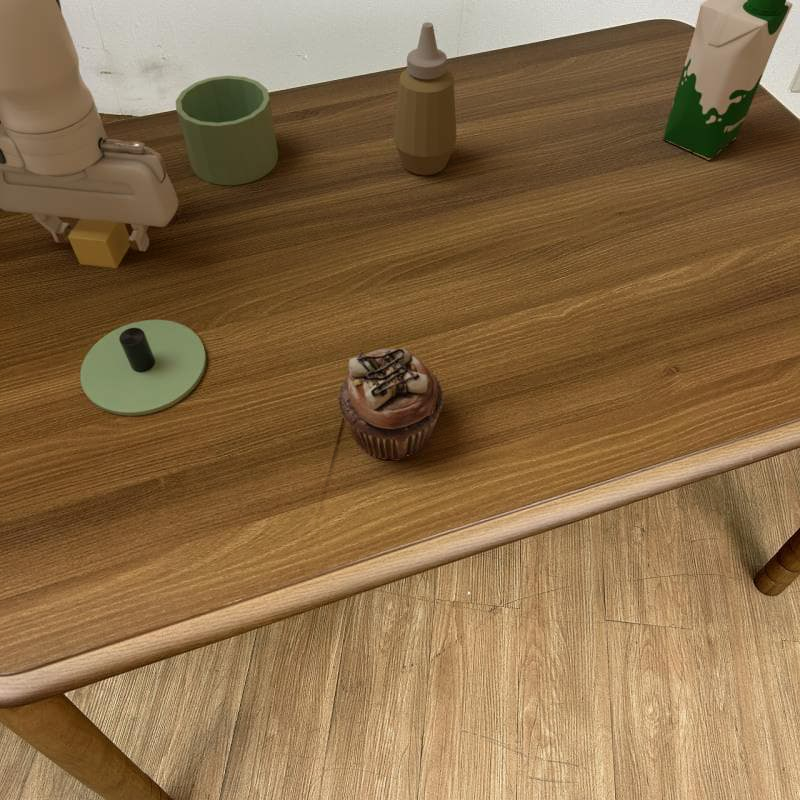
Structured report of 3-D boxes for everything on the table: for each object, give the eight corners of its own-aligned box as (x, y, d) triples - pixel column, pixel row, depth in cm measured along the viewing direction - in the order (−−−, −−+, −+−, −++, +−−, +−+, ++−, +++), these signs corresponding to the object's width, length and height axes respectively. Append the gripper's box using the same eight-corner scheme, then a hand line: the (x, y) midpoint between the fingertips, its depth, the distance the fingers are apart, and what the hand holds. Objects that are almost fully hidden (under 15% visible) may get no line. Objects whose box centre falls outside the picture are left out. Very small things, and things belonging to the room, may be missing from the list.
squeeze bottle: (384, 173, 97) (380, 34, 82) (407, 140, 101) (407, 3, 87) (442, 187, 95) (449, 47, 80) (463, 153, 99) (473, 15, 85)
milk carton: (711, 167, 97) (771, 9, 81) (651, 140, 101) (697, -16, 85) (744, 139, 101) (808, -16, 85) (686, 114, 105) (736, -39, 89)
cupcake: (461, 438, 71) (468, 370, 63) (375, 486, 67) (371, 420, 59) (406, 374, 76) (406, 303, 68) (323, 415, 72) (313, 346, 64)
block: (81, 267, 86) (67, 236, 82) (97, 242, 88) (84, 211, 85) (118, 271, 85) (105, 240, 82) (133, 246, 88) (121, 215, 84)
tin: (179, 181, 96) (162, 121, 89) (207, 131, 103) (193, 72, 96) (264, 189, 95) (254, 129, 88) (287, 138, 102) (279, 79, 95)
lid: (63, 411, 73) (42, 377, 69) (113, 321, 80) (97, 285, 76) (183, 427, 72) (170, 393, 68) (223, 334, 79) (213, 298, 75)
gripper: (168, 126, 75) (198, 234, 86) (-19, 110, 77) (34, 217, 88) (145, 163, 71) (180, 271, 82) (-51, 145, 74) (8, 252, 85)
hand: (103, 243), depth 85 cm, fingers open, 8 cm apart
